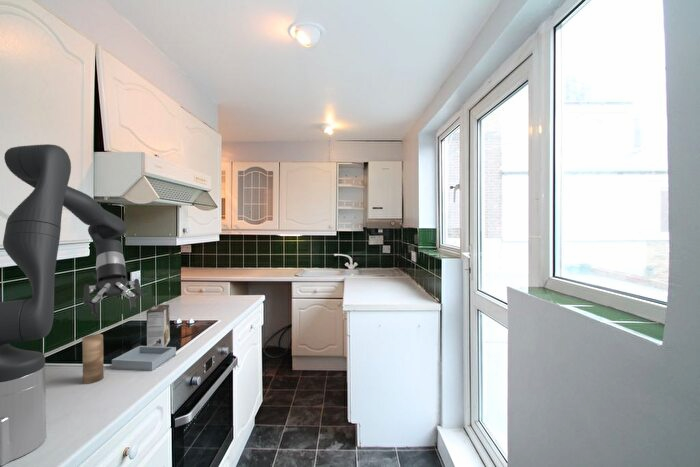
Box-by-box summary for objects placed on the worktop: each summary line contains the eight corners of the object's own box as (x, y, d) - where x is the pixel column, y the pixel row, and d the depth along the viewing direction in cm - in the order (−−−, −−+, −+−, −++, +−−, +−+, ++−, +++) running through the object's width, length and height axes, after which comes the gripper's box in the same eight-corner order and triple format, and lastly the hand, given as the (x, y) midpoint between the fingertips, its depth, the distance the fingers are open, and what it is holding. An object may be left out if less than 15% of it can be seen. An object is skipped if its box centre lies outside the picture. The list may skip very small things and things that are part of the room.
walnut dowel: (93, 384, 90) (92, 340, 90) (78, 383, 90) (77, 339, 90) (107, 376, 95) (107, 334, 95) (93, 375, 95) (93, 333, 95)
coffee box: (152, 342, 123) (152, 305, 122) (170, 340, 125) (169, 303, 125) (146, 351, 114) (145, 311, 114) (164, 348, 116) (164, 309, 116)
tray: (152, 370, 98) (151, 361, 98) (111, 368, 100) (111, 359, 100) (176, 355, 110) (175, 347, 110) (139, 353, 112) (139, 345, 112)
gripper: (81, 264, 89) (83, 312, 82) (138, 260, 99) (144, 302, 92) (82, 276, 94) (84, 322, 87) (136, 271, 103) (141, 312, 97)
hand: (115, 312), depth 89 cm, fingers open, 8 cm apart
